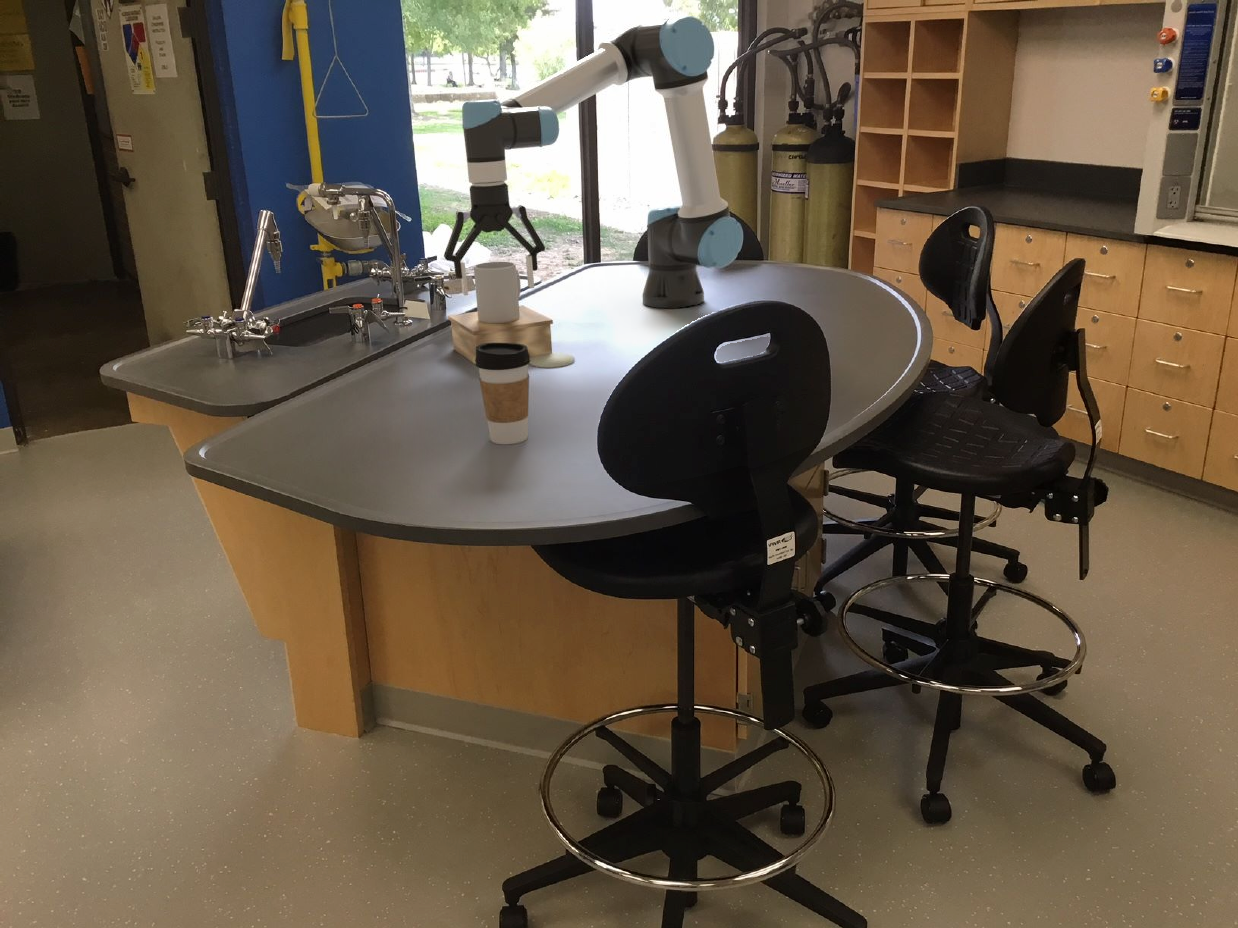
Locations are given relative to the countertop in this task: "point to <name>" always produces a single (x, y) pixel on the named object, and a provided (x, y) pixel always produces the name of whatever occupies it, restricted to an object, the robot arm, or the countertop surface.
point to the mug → (497, 292)
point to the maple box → (502, 332)
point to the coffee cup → (505, 390)
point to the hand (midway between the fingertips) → (498, 290)
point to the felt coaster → (552, 360)
